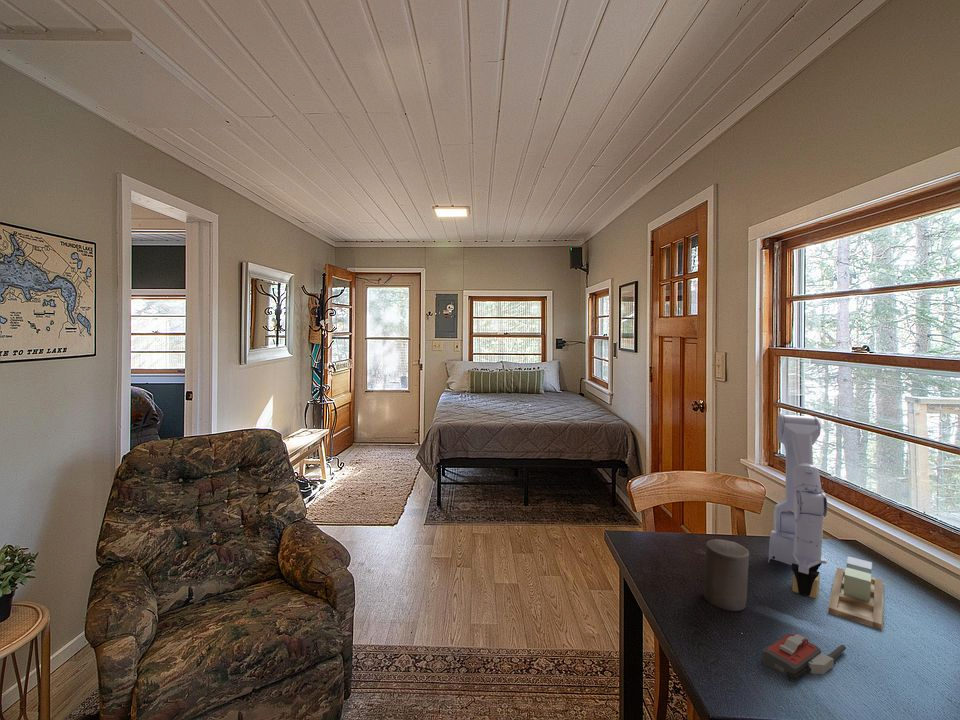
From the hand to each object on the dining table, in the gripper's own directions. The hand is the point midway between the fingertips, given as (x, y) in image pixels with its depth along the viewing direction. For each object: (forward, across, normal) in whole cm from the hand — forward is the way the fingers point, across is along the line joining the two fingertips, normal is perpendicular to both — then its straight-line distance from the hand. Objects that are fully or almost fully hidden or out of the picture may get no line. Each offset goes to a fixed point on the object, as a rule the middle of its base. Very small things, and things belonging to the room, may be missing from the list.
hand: (805, 589), depth 118 cm
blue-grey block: (0, +13, -10) cm, 16 cm away
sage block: (0, +5, -10) cm, 11 cm away
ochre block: (+2, 0, 0) cm, 2 cm away
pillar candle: (+2, -16, +15) cm, 22 cm away
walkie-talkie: (+2, -28, -3) cm, 28 cm away
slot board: (+2, +5, -10) cm, 11 cm away
